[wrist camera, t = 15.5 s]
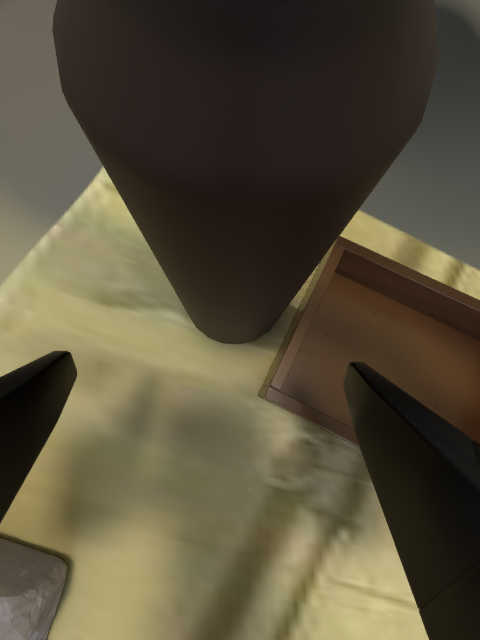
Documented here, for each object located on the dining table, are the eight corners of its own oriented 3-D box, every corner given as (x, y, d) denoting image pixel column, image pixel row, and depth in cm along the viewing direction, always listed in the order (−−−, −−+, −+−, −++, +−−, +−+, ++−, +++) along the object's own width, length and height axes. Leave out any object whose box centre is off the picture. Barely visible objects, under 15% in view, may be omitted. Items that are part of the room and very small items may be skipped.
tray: (483, 512, 17) (541, 541, 14) (257, 395, 18) (263, 397, 15) (522, 352, 19) (578, 345, 16) (322, 258, 20) (338, 235, 17)
